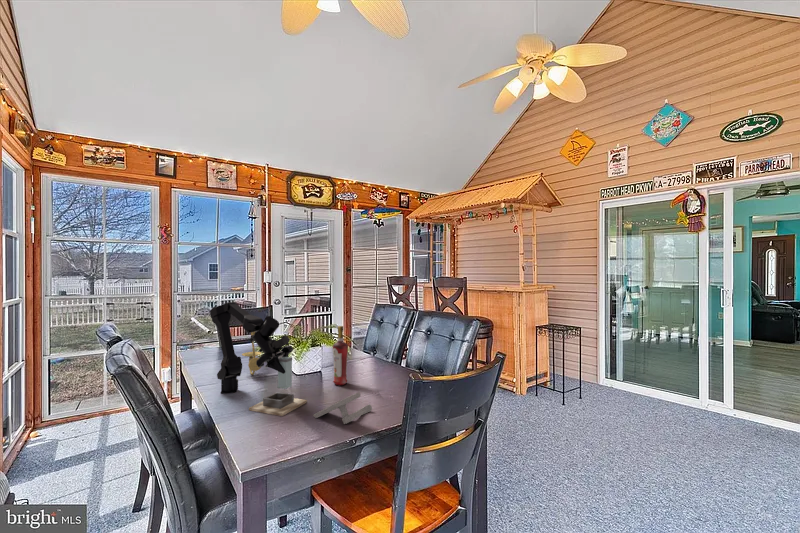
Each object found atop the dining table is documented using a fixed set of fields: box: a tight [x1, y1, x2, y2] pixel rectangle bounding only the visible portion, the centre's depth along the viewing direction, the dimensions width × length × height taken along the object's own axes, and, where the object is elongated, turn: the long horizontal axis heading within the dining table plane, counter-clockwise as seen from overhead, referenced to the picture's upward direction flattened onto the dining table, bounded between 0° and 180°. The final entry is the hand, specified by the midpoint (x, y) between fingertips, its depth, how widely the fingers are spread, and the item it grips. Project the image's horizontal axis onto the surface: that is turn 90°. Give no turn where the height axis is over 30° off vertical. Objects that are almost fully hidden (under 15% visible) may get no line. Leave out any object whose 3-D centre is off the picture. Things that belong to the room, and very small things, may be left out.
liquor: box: [332, 325, 349, 386], centre depth 188 cm, size 7×7×28 cm
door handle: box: [312, 391, 373, 425], centre depth 148 cm, size 18×8×20 cm
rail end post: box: [277, 356, 293, 390], centre depth 161 cm, size 4×4×12 cm
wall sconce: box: [241, 332, 262, 376], centre depth 203 cm, size 14×10×25 cm
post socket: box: [248, 391, 308, 417], centre depth 158 cm, size 16×16×4 cm
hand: (287, 371), depth 160 cm, fingers closed on rail end post, 4 cm apart
